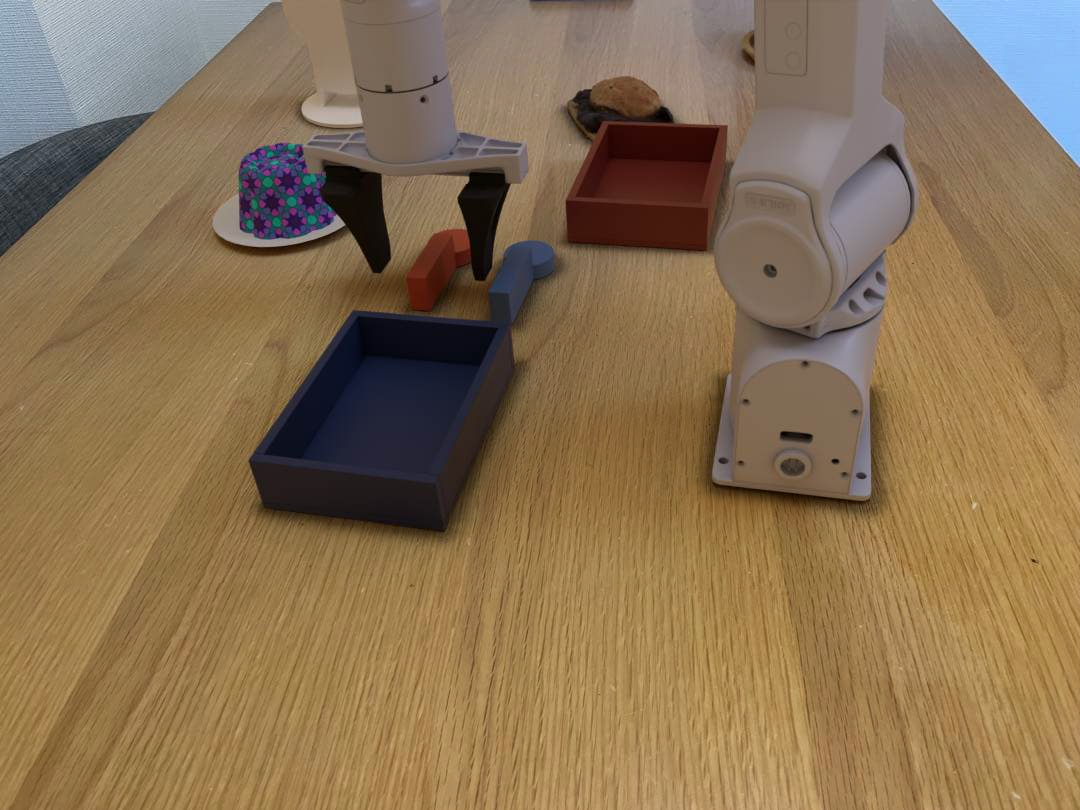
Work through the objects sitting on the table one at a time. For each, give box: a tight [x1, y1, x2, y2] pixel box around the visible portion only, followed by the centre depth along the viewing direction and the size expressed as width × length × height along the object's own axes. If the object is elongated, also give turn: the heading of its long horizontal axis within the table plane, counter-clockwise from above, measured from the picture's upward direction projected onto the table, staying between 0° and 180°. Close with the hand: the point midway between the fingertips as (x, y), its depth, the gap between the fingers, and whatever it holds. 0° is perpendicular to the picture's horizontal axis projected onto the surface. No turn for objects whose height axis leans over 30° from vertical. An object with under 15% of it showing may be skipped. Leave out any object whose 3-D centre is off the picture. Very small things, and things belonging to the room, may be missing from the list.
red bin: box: [565, 121, 729, 251], centre depth 76 cm, size 14×10×3 cm
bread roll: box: [566, 75, 675, 142], centre depth 88 cm, size 11×8×4 cm
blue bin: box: [247, 309, 516, 532], centre depth 56 cm, size 14×10×3 cm
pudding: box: [212, 142, 346, 248], centre depth 77 cm, size 12×12×5 cm
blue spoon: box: [487, 239, 556, 327], centre depth 68 cm, size 9×4×3 cm, turn 166°
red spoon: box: [405, 228, 471, 312], centre depth 70 cm, size 9×4×3 cm, turn 166°
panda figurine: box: [280, 0, 364, 129], centre depth 92 cm, size 12×11×15 cm
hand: (432, 269), depth 68 cm, fingers open, 7 cm apart
